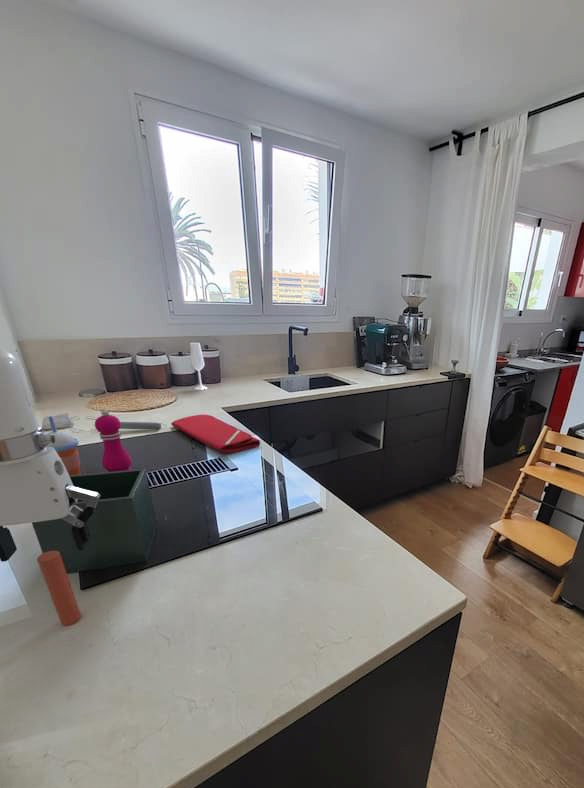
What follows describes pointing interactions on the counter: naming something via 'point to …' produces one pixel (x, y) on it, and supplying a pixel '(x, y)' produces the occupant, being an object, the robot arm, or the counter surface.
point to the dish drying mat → (216, 433)
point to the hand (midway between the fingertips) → (47, 550)
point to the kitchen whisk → (130, 425)
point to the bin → (106, 523)
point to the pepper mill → (112, 443)
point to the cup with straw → (66, 449)
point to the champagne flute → (197, 362)
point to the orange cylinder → (59, 587)
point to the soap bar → (57, 421)
